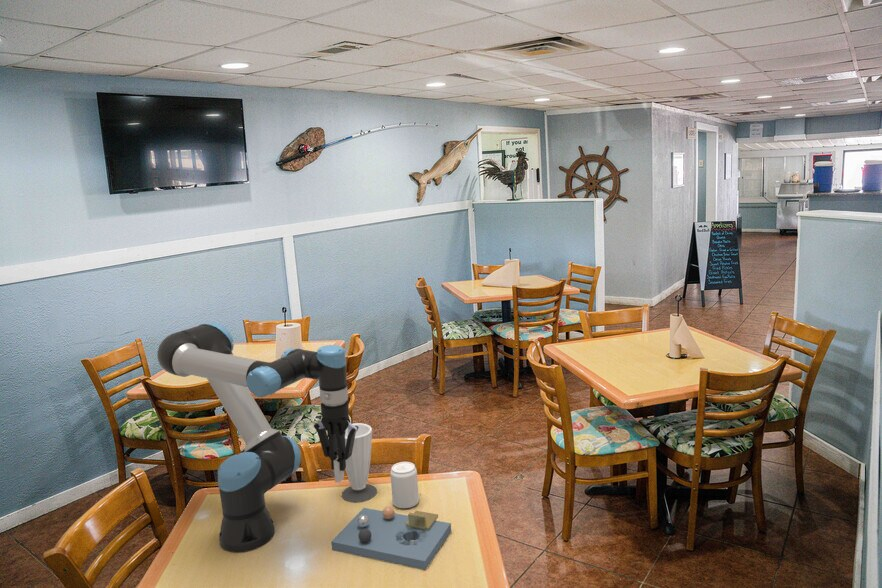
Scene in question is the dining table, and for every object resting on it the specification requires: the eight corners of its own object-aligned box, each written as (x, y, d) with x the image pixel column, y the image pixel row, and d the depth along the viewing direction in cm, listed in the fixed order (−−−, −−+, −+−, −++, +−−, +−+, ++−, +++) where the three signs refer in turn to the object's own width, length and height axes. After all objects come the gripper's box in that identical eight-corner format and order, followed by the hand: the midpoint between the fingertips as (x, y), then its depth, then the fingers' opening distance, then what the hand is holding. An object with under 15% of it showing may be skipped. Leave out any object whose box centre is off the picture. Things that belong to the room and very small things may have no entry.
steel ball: (354, 529, 172) (353, 517, 171) (361, 522, 175) (360, 511, 175) (365, 531, 171) (364, 519, 170) (371, 524, 174) (370, 513, 173)
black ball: (356, 543, 165) (355, 532, 164) (363, 536, 168) (361, 525, 168) (367, 546, 164) (366, 534, 163) (374, 538, 167) (373, 527, 166)
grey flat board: (331, 549, 167) (331, 541, 167) (364, 515, 184) (363, 507, 183) (425, 570, 157) (424, 561, 156) (451, 531, 173) (450, 523, 172)
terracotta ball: (380, 520, 176) (379, 509, 175) (386, 514, 179) (385, 503, 178) (391, 522, 174) (390, 511, 174) (397, 516, 177) (396, 505, 177)
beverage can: (415, 510, 184) (412, 474, 182) (389, 509, 186) (386, 472, 184) (421, 496, 192) (419, 461, 190) (396, 495, 194) (394, 460, 192)
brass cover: (405, 526, 172) (404, 513, 171) (416, 513, 178) (415, 501, 177) (428, 530, 169) (427, 517, 168) (438, 516, 176) (437, 504, 175)
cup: (364, 480, 204) (359, 419, 200) (384, 493, 196) (379, 429, 192) (334, 493, 197) (328, 430, 193) (353, 506, 189) (347, 441, 184)
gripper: (306, 404, 167) (312, 483, 172) (349, 409, 163) (354, 490, 168) (320, 394, 174) (325, 470, 179) (361, 398, 170) (366, 476, 175)
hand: (339, 479), depth 173 cm, fingers closed
